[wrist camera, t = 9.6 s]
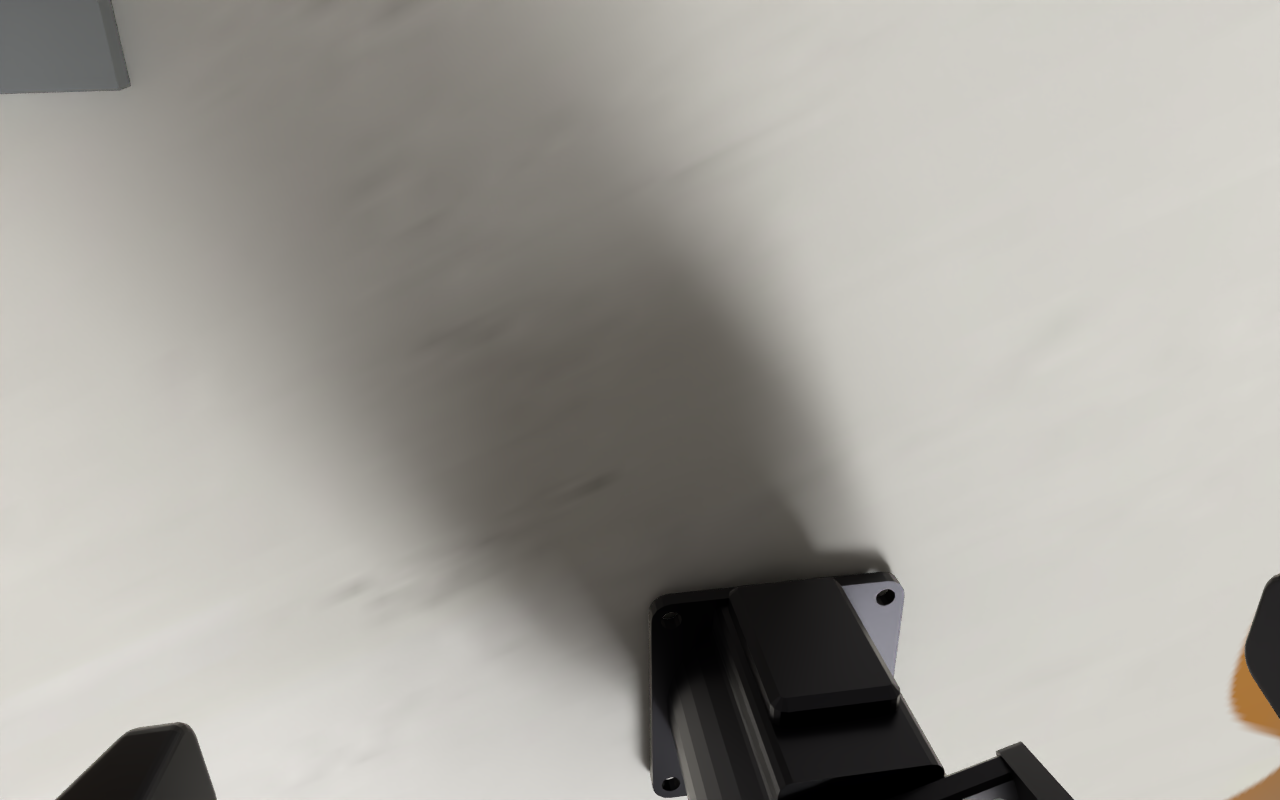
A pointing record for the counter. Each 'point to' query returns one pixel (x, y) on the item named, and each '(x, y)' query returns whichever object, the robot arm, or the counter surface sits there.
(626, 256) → the counter surface
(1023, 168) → the counter surface
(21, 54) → the mat
